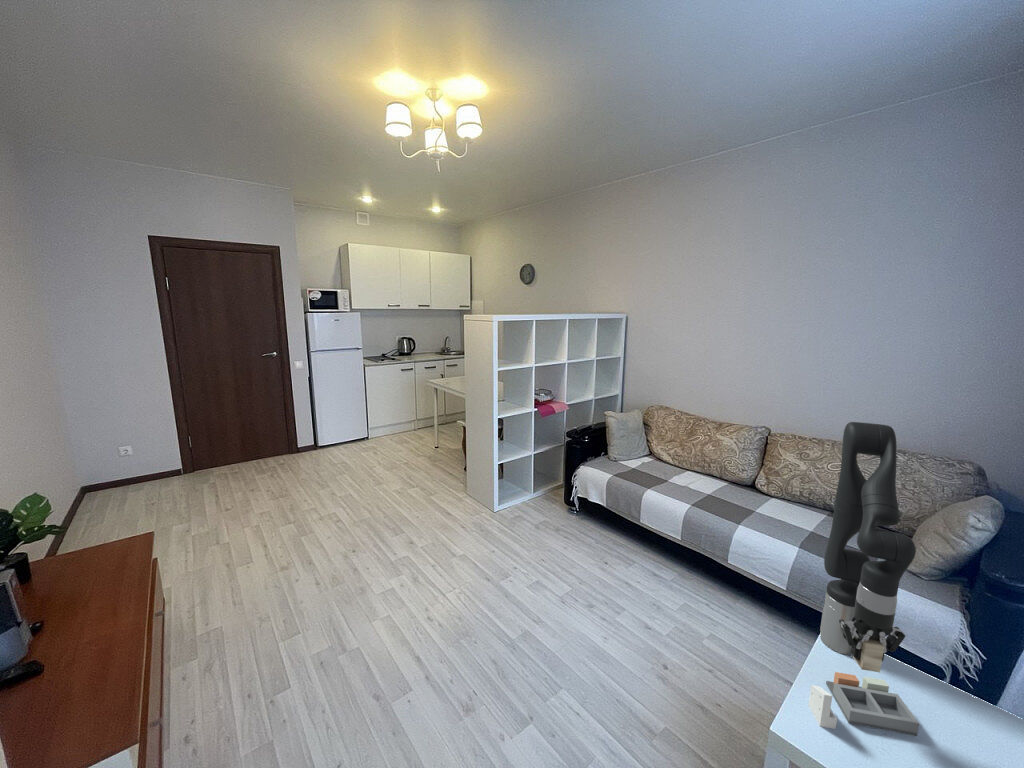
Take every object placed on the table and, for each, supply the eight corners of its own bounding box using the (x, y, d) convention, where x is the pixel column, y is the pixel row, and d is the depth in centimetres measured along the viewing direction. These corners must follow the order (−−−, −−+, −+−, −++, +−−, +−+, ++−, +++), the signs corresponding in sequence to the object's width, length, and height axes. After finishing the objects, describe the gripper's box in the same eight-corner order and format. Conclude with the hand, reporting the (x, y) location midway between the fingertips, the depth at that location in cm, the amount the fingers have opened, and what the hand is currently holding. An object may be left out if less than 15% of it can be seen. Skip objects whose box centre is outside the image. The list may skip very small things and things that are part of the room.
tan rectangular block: (852, 656, 107) (856, 631, 106) (870, 659, 106) (874, 633, 105) (861, 669, 103) (866, 643, 102) (879, 672, 102) (884, 646, 101)
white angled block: (830, 736, 100) (824, 694, 102) (810, 717, 109) (805, 680, 112) (847, 738, 99) (840, 697, 102) (825, 720, 108) (819, 682, 111)
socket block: (825, 683, 116) (828, 669, 115) (886, 694, 112) (889, 679, 111) (848, 723, 105) (851, 707, 104) (916, 736, 101) (920, 720, 100)
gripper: (898, 596, 103) (888, 652, 106) (835, 588, 107) (827, 643, 110) (920, 618, 96) (908, 677, 99) (851, 609, 99) (842, 666, 103)
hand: (866, 659), depth 105 cm, fingers closed on tan rectangular block, 4 cm apart
